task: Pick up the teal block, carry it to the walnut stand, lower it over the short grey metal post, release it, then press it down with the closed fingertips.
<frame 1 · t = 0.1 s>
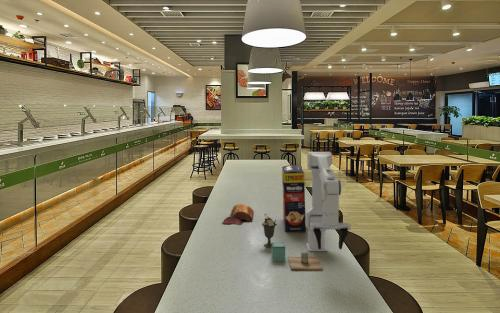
hand: (329, 248, 138), 10 cm above the table, tool pointing down, fingers open, 7 cm apart
sundae: (269, 246, 170), on the table
teal block: (278, 258, 154), on the table
cured meat: (238, 220, 216), on the table
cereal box: (293, 225, 203), on the table
stand: (304, 264, 148), on the table
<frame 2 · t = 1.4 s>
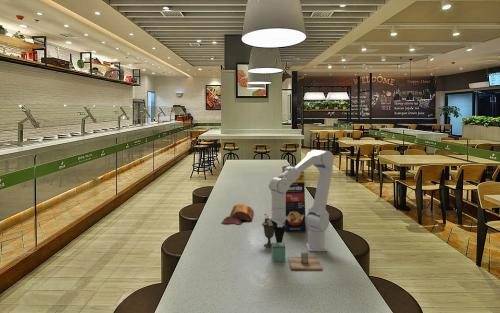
hand: (278, 239, 153), 8 cm above the table, tool pointing down, fingers open, 7 cm apart
nothing on the table moved.
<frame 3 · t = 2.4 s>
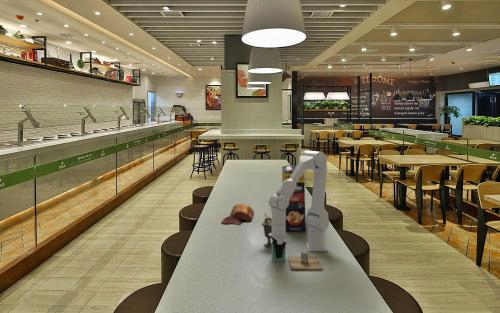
hand: (278, 255, 154), 1 cm above the table, tool pointing down, fingers closed on teal block, 5 cm apart
teal block: (278, 258, 154), on the table, touching gripper
everything else where it was.
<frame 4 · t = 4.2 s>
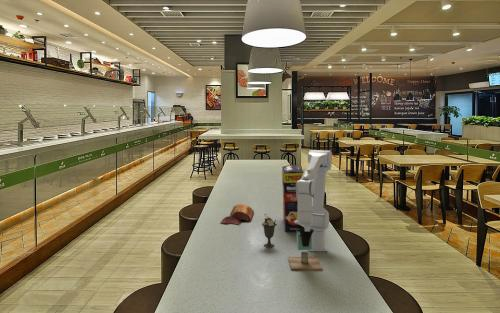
hand: (304, 243, 148), 8 cm above the table, tool pointing down, fingers closed on teal block, 5 cm apart
teal block: (304, 247, 148), point 7 cm above the table, touching gripper
everything else where it was.
when the fingers open (4 cm above the table, at t = 5.9 s): teal block drops 1 cm, resting on stand.
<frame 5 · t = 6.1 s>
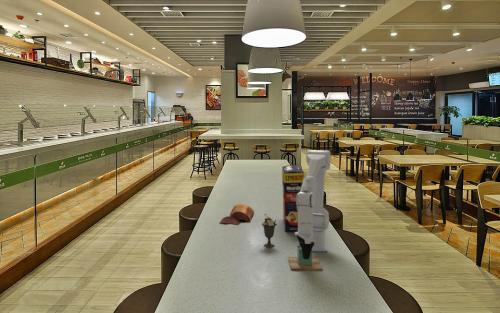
hand: (304, 255, 148), 4 cm above the table, tool pointing down, fingers open, 7 cm apart
teal block: (304, 262, 148), point 1 cm above the table, touching stand
everything else where it was.
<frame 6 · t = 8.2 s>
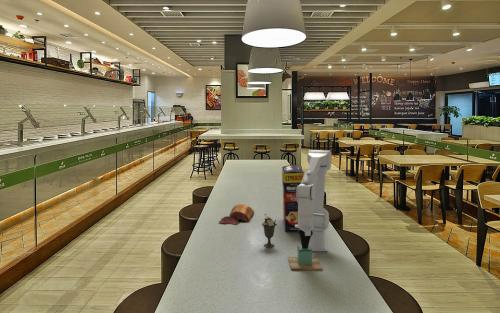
hand: (304, 248, 148), 7 cm above the table, tool pointing down, fingers closed, pressing on teal block
teal block: (304, 262, 148), point 1 cm above the table, touching gripper, stand
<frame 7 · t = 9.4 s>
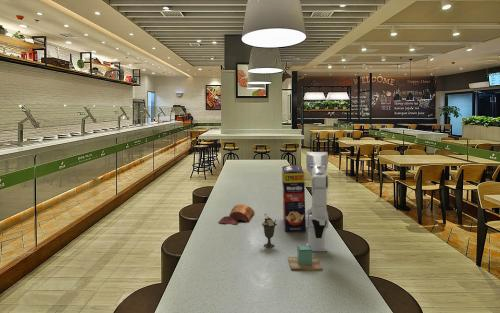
hand: (318, 237, 150), 10 cm above the table, tool pointing down, fingers closed
teal block: (304, 262, 148), point 1 cm above the table, touching stand
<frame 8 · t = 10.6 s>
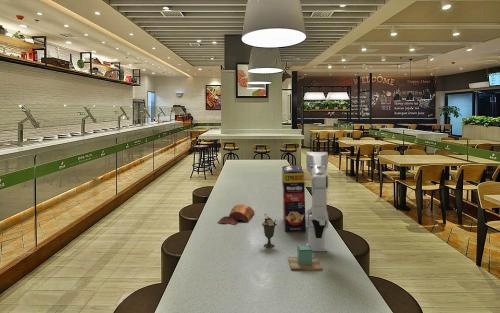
hand: (318, 237, 150), 10 cm above the table, tool pointing down, fingers closed
at the end: teal block 0.1 cm from the stand (horizontally); teal block point 0.8 cm above the table; teal block tilted 0° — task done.
